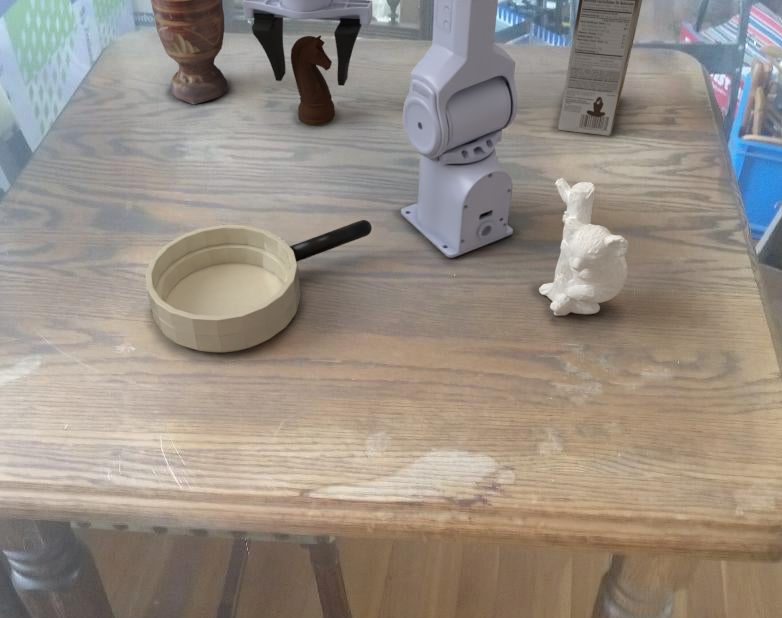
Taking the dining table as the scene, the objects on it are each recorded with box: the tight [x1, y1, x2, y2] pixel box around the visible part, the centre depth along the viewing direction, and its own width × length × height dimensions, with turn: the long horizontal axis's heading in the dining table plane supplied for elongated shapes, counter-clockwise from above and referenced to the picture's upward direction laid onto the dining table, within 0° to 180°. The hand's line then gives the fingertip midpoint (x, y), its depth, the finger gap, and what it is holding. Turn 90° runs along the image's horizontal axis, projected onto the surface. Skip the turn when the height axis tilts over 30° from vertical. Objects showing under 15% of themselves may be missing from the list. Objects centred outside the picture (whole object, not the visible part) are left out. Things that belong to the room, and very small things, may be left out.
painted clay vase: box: [150, 0, 229, 105], centre depth 106 cm, size 12×9×20 cm
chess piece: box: [290, 35, 336, 127], centre depth 103 cm, size 5×5×10 cm
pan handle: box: [289, 219, 373, 263], centre depth 84 cm, size 10×2×2 cm, turn 118°
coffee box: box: [557, 0, 643, 137], centre depth 98 cm, size 9×6×16 cm
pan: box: [144, 223, 301, 354], centre depth 82 cm, size 14×14×4 cm
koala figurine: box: [538, 177, 630, 317], centre depth 77 cm, size 8×7×12 cm
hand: (311, 79), depth 103 cm, fingers open, 7 cm apart
